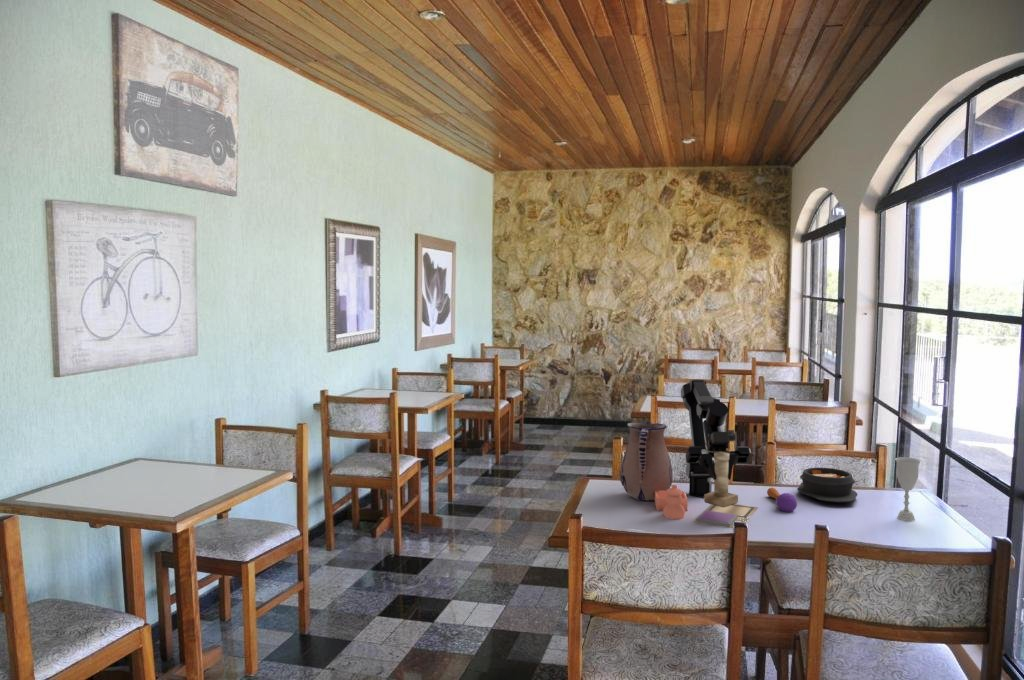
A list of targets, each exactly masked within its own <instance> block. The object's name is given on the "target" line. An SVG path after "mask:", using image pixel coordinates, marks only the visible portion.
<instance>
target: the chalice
mask: <svg viewBox="0 0 1024 680" xmlns="http://www.w3.org/2000/svg"><path fill="white" fill-rule="evenodd" d="M894 460H895V463H896V472H895V473H896V474H895V476H896V478H897V481H898V484H899V486H900V487H901V489H902V490H904V496H903V498H904V501H903V504H904V508H903V509H901V510H899V513H898V515H897V516H896V519H898V520H900V521H904V522H914V521H916V518H915V515H914V512H913V511H911V510H910V509H909V504H911V503H910V502H909V499H910V495H909V491H911V490H913V489H914V487H915V485H916V484H917V480H918V478H919V465H920V463H921V460H920V459H918V458H915V457H914V458H913V457H903V456H900V457H899V456H898V457H895V458H894Z"/></svg>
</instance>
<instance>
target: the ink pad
mask: <svg viewBox="0 0 1024 680" xmlns="http://www.w3.org/2000/svg"><path fill="white" fill-rule="evenodd" d="M702 512H703V511H702ZM702 512H701V513H702ZM701 513H700V514H701ZM700 514H699V515H698V516H697V517H696V518H695V519H696V522H700V523H699V524H701V523H706V524H705V525H708V524H713V525H712V526H714V525H719V526H718V527H721V526H726V527H725V528H727V527H730V526H731V525H732V524H733V522H735V521H736V520H737V519H738V515H736V514H729V513H722V512H715V511H708V510H706V509H705V510H704V512H703V513H702V514H701V515H700Z"/></svg>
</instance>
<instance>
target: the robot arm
mask: <svg viewBox="0 0 1024 680" xmlns="http://www.w3.org/2000/svg"><path fill="white" fill-rule="evenodd" d="M680 398H681V399H682V403H683V406H684V407H685V408H686V409H687V411H688V416H689V426H690V436H691V445H692V446H688V447H687V449H686V454H685V462H686V463H687V464H686V467H685V475H686V477H687V478H688V480H689V485H688V487H689V490H688V491H689V492H688V493H687V495H688V496H690V497H691V496H692V497H700V498H704V494H707V493H711V492H712V481H711V479H713V480H716V475H715V459H714V453H715V452H725V453H729V468H728V481H731V479H732V478H731V477H732V474H733V468H734V466H736V465H737V464H747V463H749V460H750V458H751V455H752V451H751V448H750V447H749V446H736V447H735V449H734V450H728V449H729V447H730V446H729V445H730V443H731V442H734V441H736V439H737V438H736V437H737V436H736V432H735V430H734V429H728V430H727V431H724V429H723V425H724V424H725V422H726V418H727V416H728V412H729V408H728V406H727V404H725V403H724V402H722V401H721V400H720V398H716V397H714V396H712V395H711V392H710V391H709V389H708V385H707V380H706V379H692V380H691V379H690V380H689V382H688V383H685V384H683V385H682V387H681V389H680ZM713 459H714V460H713Z"/></svg>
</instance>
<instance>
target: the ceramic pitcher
mask: <svg viewBox="0 0 1024 680" xmlns="http://www.w3.org/2000/svg"><path fill="white" fill-rule="evenodd" d="M627 427H628V428H629V433H630V434H629V439H628V442H627V446H626V447H625V448H626V449H625V452H624V453H623V454H624V455H623V458H622V461H621V464H620V469H619V479H620V480H619V481H620V483H621V485H622V487H623V489H624V491H625V492H626V494H628V495H629V496H630V497H632V498H633V499H635V500H638V501H644V500H646V501H649V500H651V501H655V491H656V492H658V491H660V490H661V491H667V490H668V489H670V488H672V485H673V467H672V462H671V458H670V455H669V452H668V449H667V445H666V442H665V436H664V434H665V430H666V429H667V427H668V426H667V425H666V424H664V423H657V422H656V423H652V421H643V422H634V421H633V422H627Z"/></svg>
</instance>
